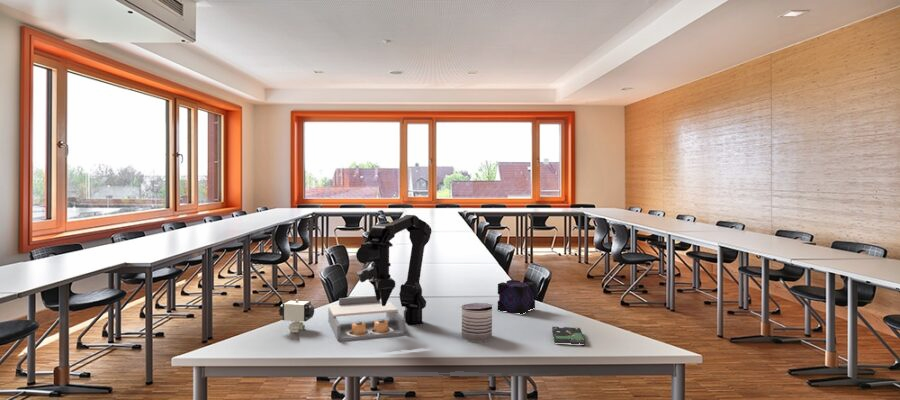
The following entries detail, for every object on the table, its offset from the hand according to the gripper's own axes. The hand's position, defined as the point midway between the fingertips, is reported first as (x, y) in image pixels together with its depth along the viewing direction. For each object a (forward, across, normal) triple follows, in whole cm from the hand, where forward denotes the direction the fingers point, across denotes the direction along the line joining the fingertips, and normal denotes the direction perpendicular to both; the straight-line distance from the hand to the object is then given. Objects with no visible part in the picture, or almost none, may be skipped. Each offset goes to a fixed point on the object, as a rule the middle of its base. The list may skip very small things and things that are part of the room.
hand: (380, 303), depth 179 cm
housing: (+12, -8, -4) cm, 15 cm away
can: (+12, +13, +32) cm, 37 cm away
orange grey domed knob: (+11, 0, -8) cm, 13 cm away
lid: (+5, -14, -4) cm, 16 cm away
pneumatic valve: (+12, -15, -28) cm, 34 cm away
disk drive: (+12, +25, +62) cm, 68 cm away
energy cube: (+12, -17, +64) cm, 67 cm away
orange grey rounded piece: (+11, 0, 0) cm, 11 cm away
